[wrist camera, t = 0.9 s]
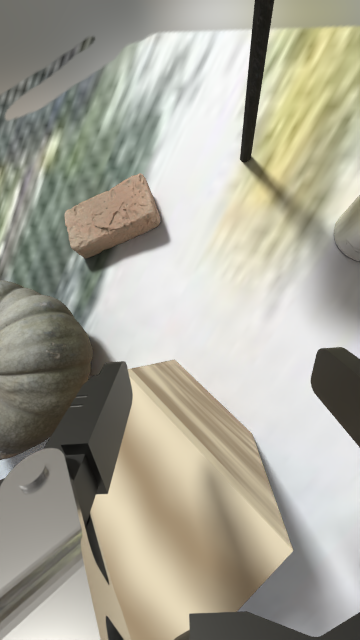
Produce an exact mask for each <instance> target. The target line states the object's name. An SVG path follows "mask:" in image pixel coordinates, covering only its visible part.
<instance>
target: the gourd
mask: <svg viewBox="0 0 360 640" xmlns="http://www.w3.org/2000/svg"><path fill="white" fill-rule="evenodd" d="M92 358H93V350H92V346H91V343H90V340H89V337H88V335H87V333H86V332H85V331H84V329H83V328H82V327H81V325H80V324H79V322H77V320H76V319H75V318H74V316H73V315H72V313H71V312H70V310H69V309H68V308H67V307H66V306H65V305H64V304H63V303H62V302H61V301H59V300H58V299H55V298H53V297H50V296H45V295H41V294H40V293H38V292H36V291H34V290H32V289H28V288H24V287H22V286H20V285H18V284H16V283H12V282H8V281H2V280H0V460H2V459H6V458H10V457H13V456H16V455H18V454H20V453H22V452H24V451H26V450H28V449H30V448H32V447H34V446H36V445H38V444H40V443H42V442H43V441H45V440H46V439H48V438H49V437H51V436H52V434H53V432H54V431H55V429H56V428H57V426H58V424H59V423H60V421H61V419H62V418H63V416H64V415H65V413H66V411H67V410H68V408H69V407H70V406H71V403H72V402H73V400H74V398H76V395H77V394H78V392H79V390H80V389H81V387H82V385H83V384H84V383H86V382H87V381H88V377H89V374H90V370H91V364H90V362H91V360H92Z"/></svg>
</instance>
